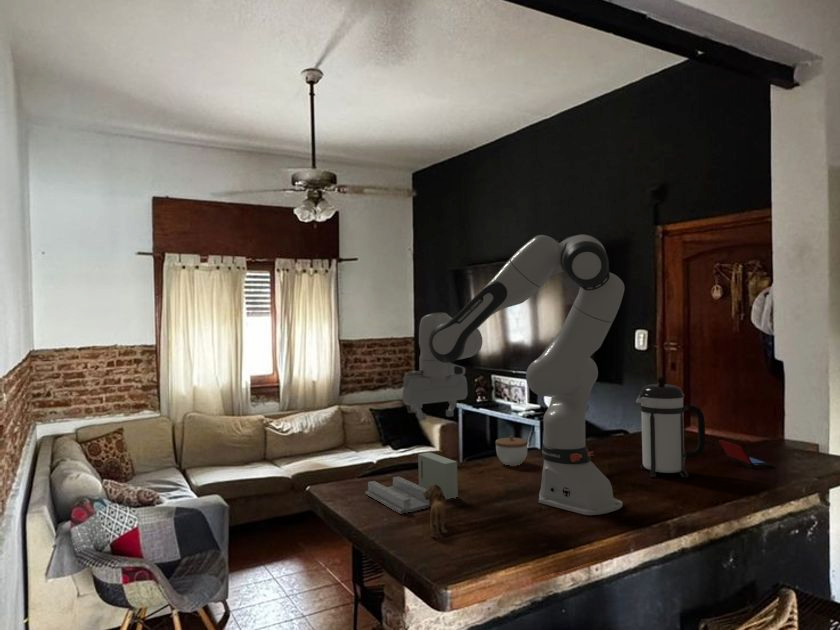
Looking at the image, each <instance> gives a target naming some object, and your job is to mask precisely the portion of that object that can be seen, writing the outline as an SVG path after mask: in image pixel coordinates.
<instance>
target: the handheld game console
mask: <svg viewBox="0 0 840 630" xmlns="http://www.w3.org/2000/svg"><path fill="white" fill-rule="evenodd" d="M718 442H719V443H720V445H721V447H722V448H723V449H724V452H725V453H726V455H727V459H728V458H729V459H731V460H734V461H736V462H739V463H738V464H740V463H742V464H743V465H742V464H741V465H742V466H744V465H745V466H744V467H746V466H747V467H746V468H749V467H750V468H749V469H752V468H753V469H771V468H773V464H772V463H769V462H767V461H765V460H761V459H759V458H756V457H753V456H749V455H748V453H747V452H746V450H745V449H744V448H743V446H742V445H739V444H736V443H733V442H730V441H726V440H724V439H721V438H720V439H719V440H718ZM731 460H730V461H731ZM734 461H733V462H734ZM736 462H735V463H736Z"/></svg>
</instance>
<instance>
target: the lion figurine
mask: <svg viewBox="0 0 840 630" xmlns="http://www.w3.org/2000/svg"><path fill="white" fill-rule="evenodd" d="M423 496H424V498H425V500H429V503H430V507H431V508H430V513H429V526H430V534H429V537H430V538H434V537H435V536H436V534H435V529H436V532H437V534H438V537H439V538H440V539H442V538H443V533H444V534H447V533H448V529H446V528H445V524H446V519H445V518H446V503H447V500H446V499H445V496H444V494H443V491H442V490H441V488H440V487H439V486H437V485H436V484H431V485H429V489H428V490H427V491H425V492H424V493H423ZM438 520H439V521H440V525H441V526H440V527H441V532H442V533H441V532H440V529H439V522H438Z"/></svg>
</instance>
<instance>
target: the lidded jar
mask: <svg viewBox="0 0 840 630" xmlns="http://www.w3.org/2000/svg"><path fill="white" fill-rule="evenodd" d="M528 445H529V443H528V440H527V439H525V438H520V437H514V436H513V435H509V437H501V438H498V439H496V440H495V450H496V456H497V458H498V459H499V461H500V462H501V463H502V464H503V465H504V464H505V465H504V466H506V465H510V466H509V467H517V465H519V466H521V465H522V463H523V462H524V461H525V460H526V458H527V455H528ZM520 464H521V465H520Z"/></svg>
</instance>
